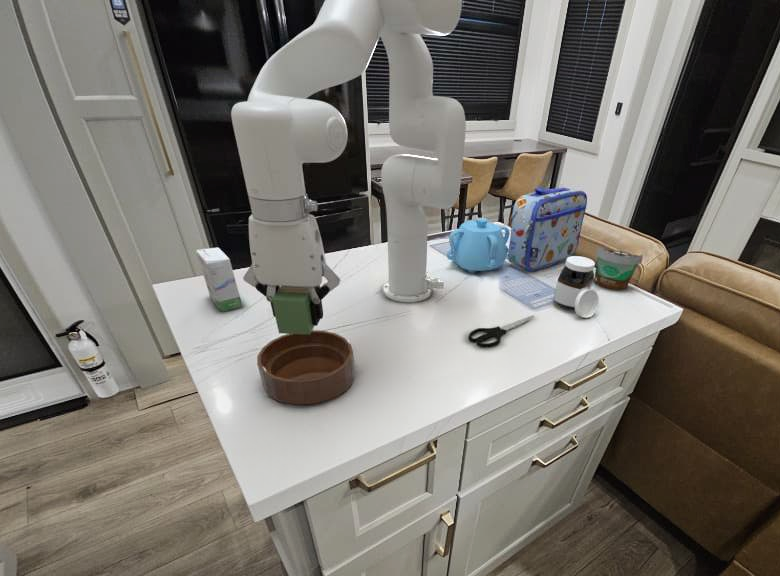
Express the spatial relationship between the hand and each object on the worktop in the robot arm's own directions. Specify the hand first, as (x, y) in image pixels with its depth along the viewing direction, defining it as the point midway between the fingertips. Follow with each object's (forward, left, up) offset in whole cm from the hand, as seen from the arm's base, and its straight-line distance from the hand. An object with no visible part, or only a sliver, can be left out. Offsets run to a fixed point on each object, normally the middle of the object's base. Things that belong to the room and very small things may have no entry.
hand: (299, 320), depth 70 cm
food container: (-73, -47, -13) cm, 88 cm away
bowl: (0, 0, -12) cm, 12 cm away
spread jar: (-59, -33, -13) cm, 69 cm away
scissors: (-39, -20, -12) cm, 46 cm away
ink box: (+26, -28, -13) cm, 40 cm away
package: (0, 0, -1) cm, 1 cm away
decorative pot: (-36, -58, -13) cm, 69 cm away
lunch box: (-56, -63, -13) cm, 85 cm away
